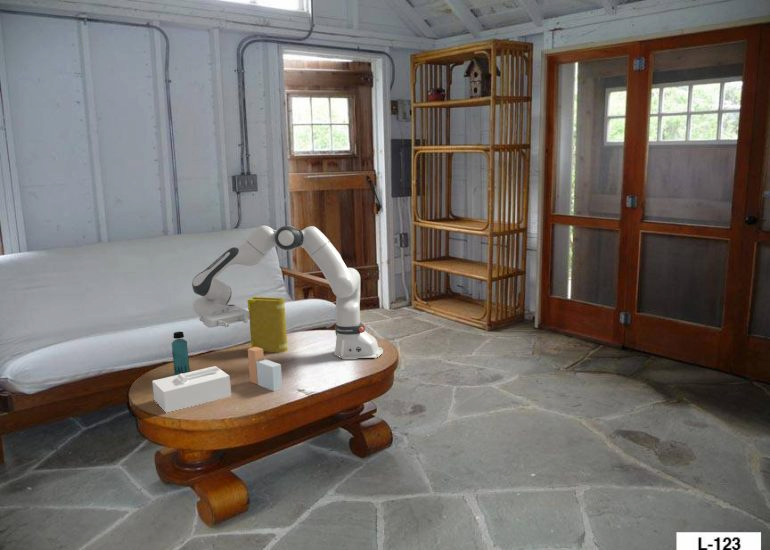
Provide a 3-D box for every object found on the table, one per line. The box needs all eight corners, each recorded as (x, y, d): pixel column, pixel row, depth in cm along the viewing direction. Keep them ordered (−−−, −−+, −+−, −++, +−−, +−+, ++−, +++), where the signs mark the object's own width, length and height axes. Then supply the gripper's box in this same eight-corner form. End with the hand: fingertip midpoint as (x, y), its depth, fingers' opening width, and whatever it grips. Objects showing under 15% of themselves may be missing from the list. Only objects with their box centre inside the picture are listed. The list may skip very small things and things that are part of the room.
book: (251, 350, 292) (247, 299, 287) (258, 346, 298) (254, 296, 293) (283, 353, 287) (280, 301, 282) (289, 348, 293) (286, 297, 288)
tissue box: (154, 402, 235) (151, 375, 233) (217, 386, 250) (215, 360, 247) (166, 414, 224) (163, 386, 222) (231, 396, 238) (229, 370, 236)
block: (250, 381, 252) (247, 349, 249) (258, 378, 255) (255, 346, 252) (257, 384, 249) (254, 351, 246) (265, 381, 252) (263, 348, 249)
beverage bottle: (185, 373, 264) (180, 329, 260) (194, 377, 260) (189, 331, 256) (171, 378, 259) (166, 332, 255) (180, 381, 255) (175, 335, 251)
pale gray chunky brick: (257, 384, 249) (255, 361, 247) (265, 381, 252) (264, 358, 250) (274, 391, 241) (272, 366, 239) (282, 388, 244) (280, 364, 242)
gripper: (197, 311, 258) (215, 320, 249) (238, 303, 273) (257, 311, 264) (197, 325, 259) (215, 334, 250) (238, 317, 274) (256, 325, 265)
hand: (237, 322), depth 257 cm, fingers open, 8 cm apart
